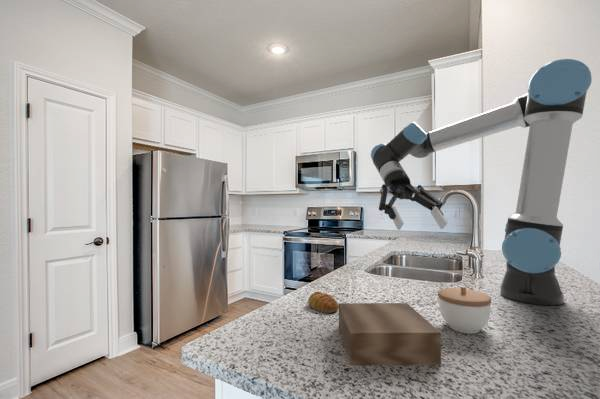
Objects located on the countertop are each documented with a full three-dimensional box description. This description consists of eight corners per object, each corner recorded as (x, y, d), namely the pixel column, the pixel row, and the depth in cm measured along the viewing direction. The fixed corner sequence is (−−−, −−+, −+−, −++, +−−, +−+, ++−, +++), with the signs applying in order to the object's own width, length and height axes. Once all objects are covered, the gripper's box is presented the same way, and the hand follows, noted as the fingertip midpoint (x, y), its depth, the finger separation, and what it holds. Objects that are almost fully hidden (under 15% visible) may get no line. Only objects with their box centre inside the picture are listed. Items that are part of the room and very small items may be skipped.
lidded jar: (501, 340, 61) (500, 295, 61) (445, 336, 63) (444, 292, 63) (480, 320, 72) (479, 282, 72) (433, 317, 74) (432, 280, 74)
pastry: (345, 311, 79) (344, 297, 79) (325, 316, 75) (324, 301, 75) (324, 302, 87) (324, 289, 87) (305, 306, 83) (305, 292, 83)
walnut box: (407, 329, 68) (407, 303, 68) (441, 366, 52) (440, 332, 52) (338, 329, 68) (338, 303, 68) (351, 367, 52) (350, 333, 52)
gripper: (423, 186, 102) (454, 233, 87) (356, 185, 97) (377, 235, 82) (433, 169, 97) (468, 216, 82) (362, 167, 92) (386, 217, 77)
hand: (422, 226), depth 82 cm, fingers open, 13 cm apart
